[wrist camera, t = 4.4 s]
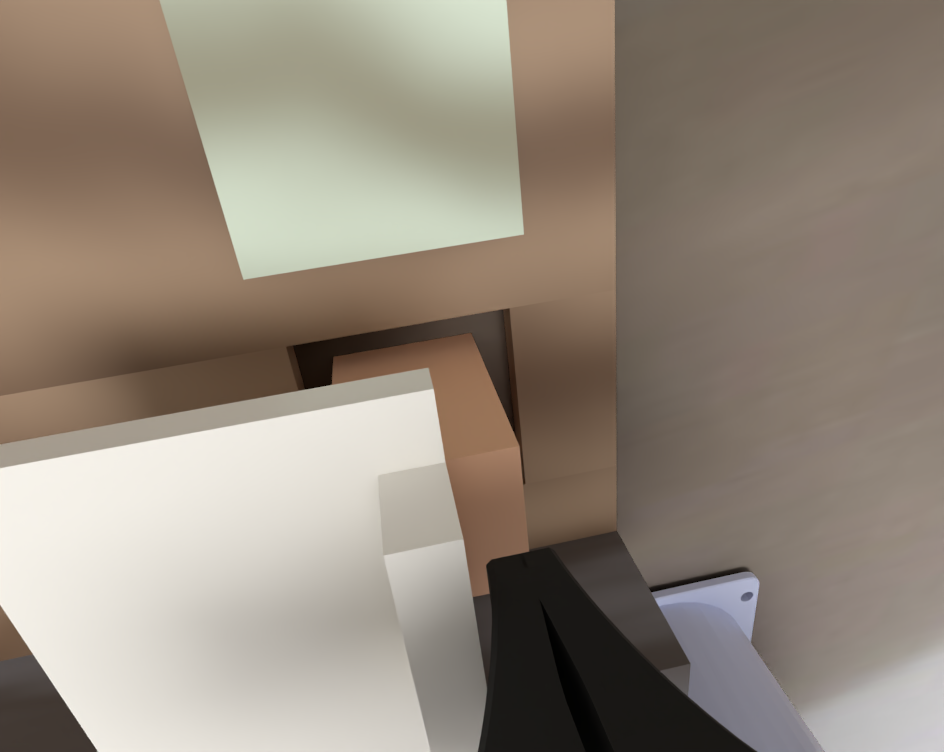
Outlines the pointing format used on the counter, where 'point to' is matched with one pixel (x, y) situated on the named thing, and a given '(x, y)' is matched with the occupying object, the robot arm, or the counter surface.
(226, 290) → the board
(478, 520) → the block
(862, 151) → the counter surface
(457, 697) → the cover
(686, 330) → the counter surface
